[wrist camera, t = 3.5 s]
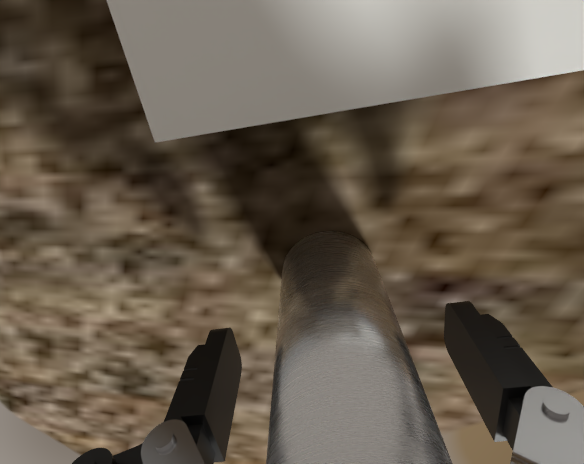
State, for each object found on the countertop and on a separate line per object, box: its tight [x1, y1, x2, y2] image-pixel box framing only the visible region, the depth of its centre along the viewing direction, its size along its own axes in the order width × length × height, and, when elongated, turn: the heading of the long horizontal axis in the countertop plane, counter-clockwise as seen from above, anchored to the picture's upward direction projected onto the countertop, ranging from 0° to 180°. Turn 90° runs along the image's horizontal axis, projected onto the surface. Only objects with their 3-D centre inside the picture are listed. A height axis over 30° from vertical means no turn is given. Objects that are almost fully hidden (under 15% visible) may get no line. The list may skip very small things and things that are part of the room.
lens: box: [266, 231, 452, 464], centre depth 12 cm, size 4×4×10 cm
